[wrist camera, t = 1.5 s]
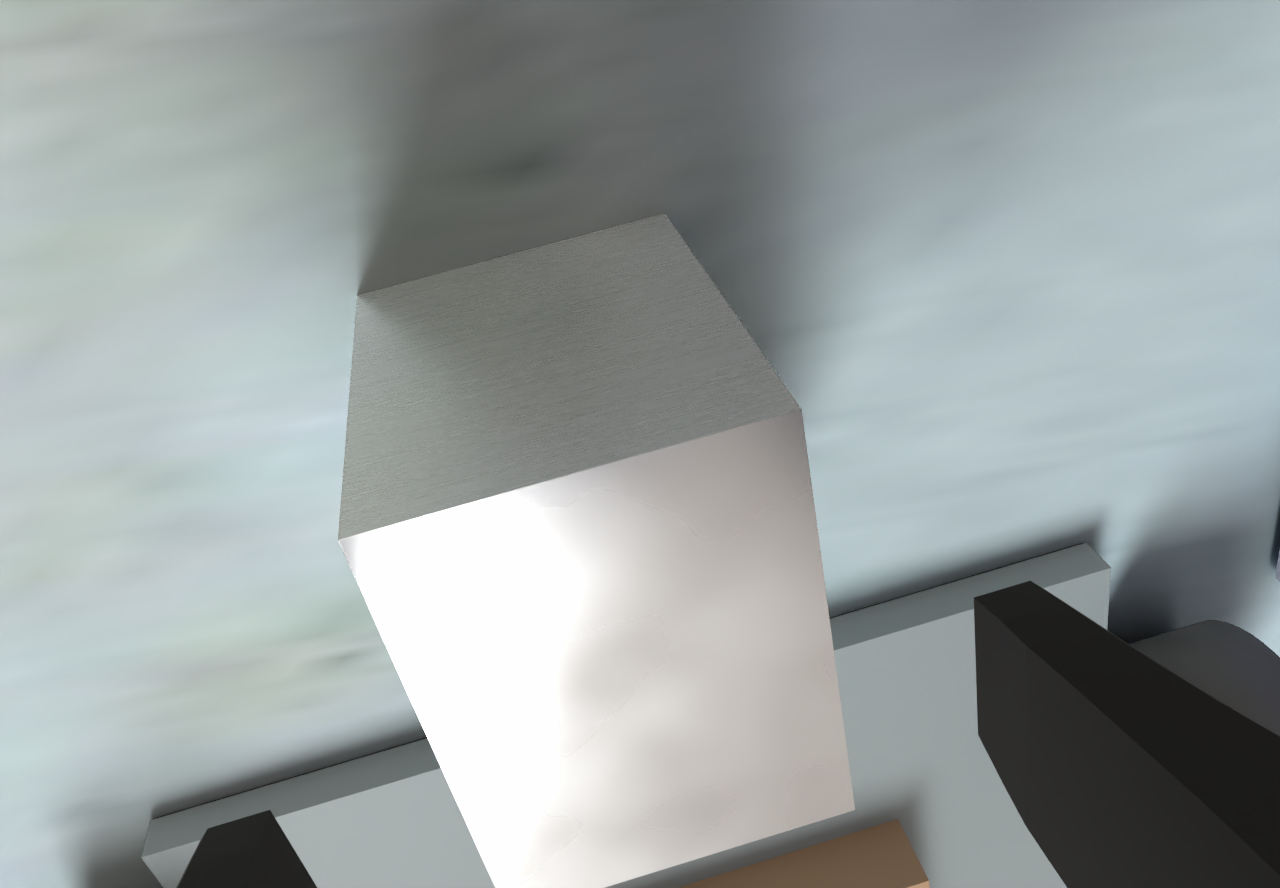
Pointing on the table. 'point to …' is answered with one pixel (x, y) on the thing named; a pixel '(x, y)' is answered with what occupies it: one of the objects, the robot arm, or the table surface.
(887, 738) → the chassis board
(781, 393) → the block
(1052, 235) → the table surface
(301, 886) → the robot arm
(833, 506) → the table surface
